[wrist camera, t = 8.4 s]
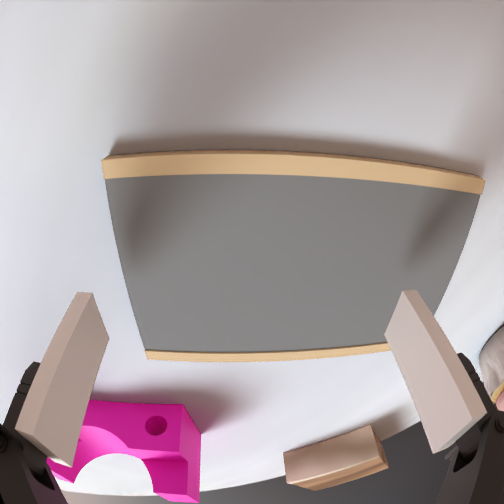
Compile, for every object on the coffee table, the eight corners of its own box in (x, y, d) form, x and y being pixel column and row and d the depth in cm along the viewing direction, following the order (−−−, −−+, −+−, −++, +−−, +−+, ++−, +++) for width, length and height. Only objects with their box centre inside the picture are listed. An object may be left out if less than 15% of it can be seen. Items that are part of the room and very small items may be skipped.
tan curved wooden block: (388, 467, 27) (378, 455, 23) (314, 491, 30) (286, 482, 25) (381, 441, 31) (369, 423, 26) (310, 465, 33) (283, 451, 29)
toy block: (183, 402, 21) (176, 488, 15) (201, 432, 25) (199, 503, 18) (42, 391, 22) (20, 454, 15) (72, 422, 25) (58, 478, 19)
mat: (149, 350, 18) (147, 359, 17) (107, 155, 11) (101, 160, 11) (415, 338, 19) (419, 345, 18) (477, 175, 12) (485, 180, 12)
